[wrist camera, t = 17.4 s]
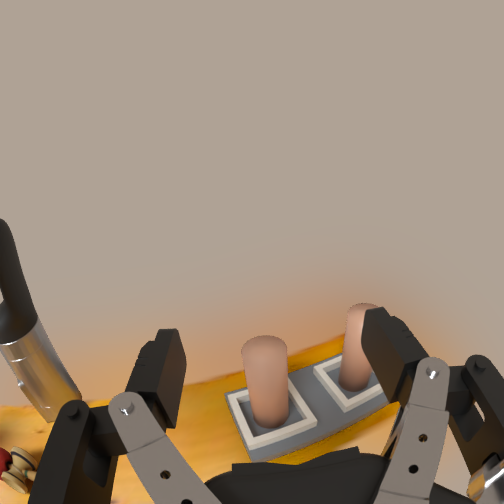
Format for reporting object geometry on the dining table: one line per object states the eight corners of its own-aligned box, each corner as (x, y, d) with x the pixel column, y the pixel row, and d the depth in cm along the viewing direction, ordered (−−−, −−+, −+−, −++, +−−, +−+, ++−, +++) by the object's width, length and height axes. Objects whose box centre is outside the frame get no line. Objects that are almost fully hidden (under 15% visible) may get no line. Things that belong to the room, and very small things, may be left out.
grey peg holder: (253, 465, 28) (240, 406, 22) (225, 399, 39) (209, 328, 34) (399, 397, 35) (425, 325, 29) (354, 352, 46) (364, 283, 41)
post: (272, 434, 31) (265, 372, 26) (245, 416, 34) (232, 351, 30) (296, 412, 34) (296, 346, 29) (269, 396, 38) (262, 330, 33)
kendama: (87, 471, 25) (2, 446, 22) (69, 458, 22) (-19, 430, 18) (88, 514, 19) (-3, 482, 15) (68, 508, 16) (-26, 469, 12)
